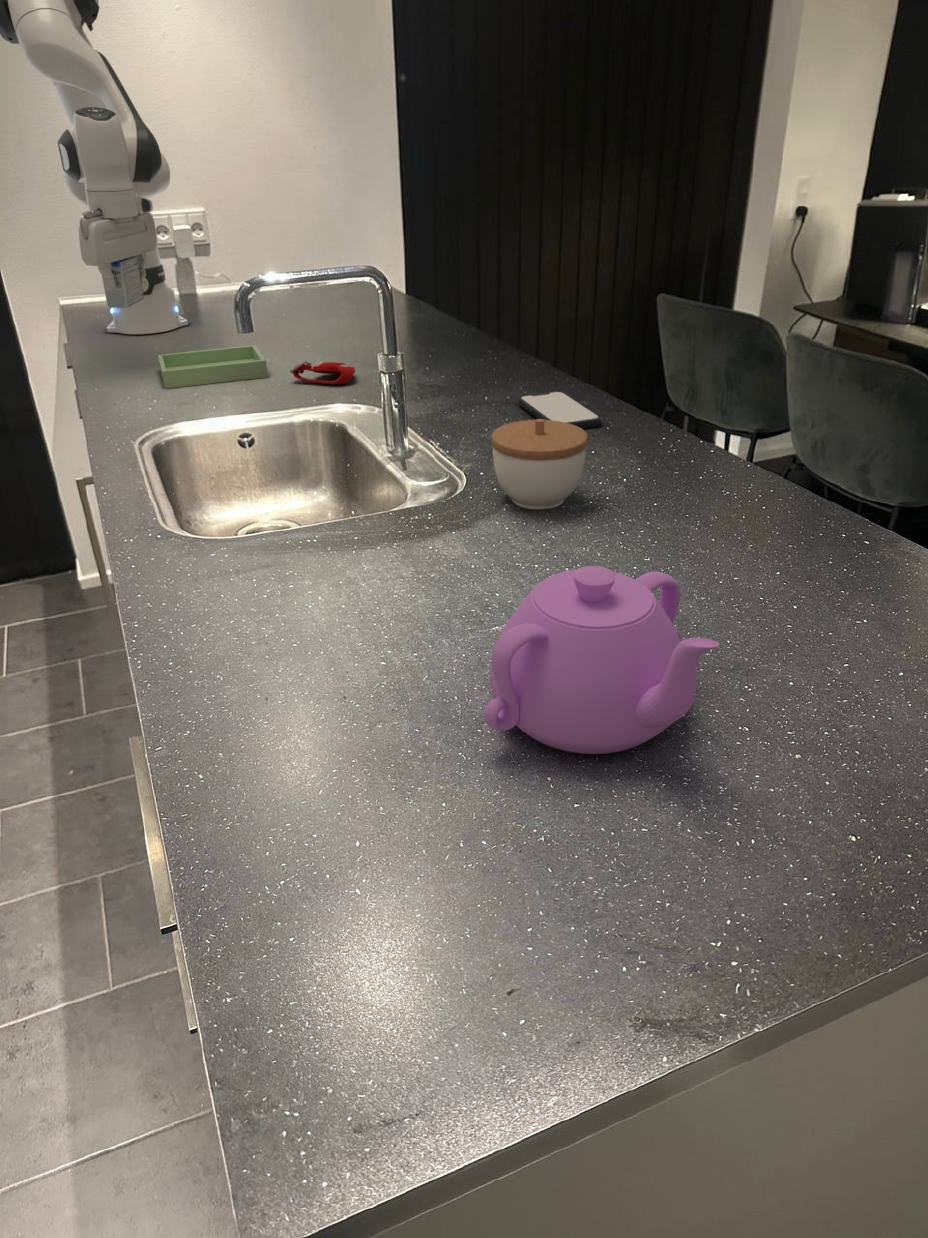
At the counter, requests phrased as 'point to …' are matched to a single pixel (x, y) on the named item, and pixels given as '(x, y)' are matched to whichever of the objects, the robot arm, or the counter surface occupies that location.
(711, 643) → the teapot
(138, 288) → the medicine box
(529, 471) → the lidded bowl
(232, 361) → the tray
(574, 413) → the phone case
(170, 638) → the counter surface
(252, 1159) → the counter surface
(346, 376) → the tracker holder
